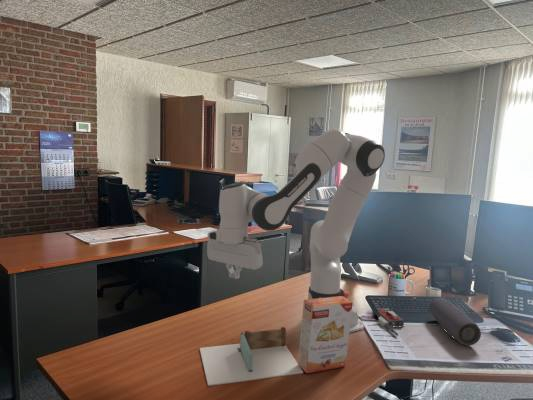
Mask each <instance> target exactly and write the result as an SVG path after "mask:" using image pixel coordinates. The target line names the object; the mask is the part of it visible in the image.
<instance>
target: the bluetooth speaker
mask: <svg viewBox="0 0 533 400" xmlns="http://www.w3.org/2000/svg"><path fill="white" fill-rule="evenodd" d="M428 306H429V307H428V311H429V313H430V314H431V316H432V317H433V318H434V319H435V320H436V322H437V323H438V324H439V325H440V327H441V328H444V329H445V330H446V331H447V332H448V333H449V334H450V335H451V336H453V337H454V338H455V339H456V341H457V342H459V343H460V344H462V345H463V346H473V345H475V344H477V343H478V342H479V341H480V339H481V337H482V331H481V328H480V327H479V325H477V323H476V322H475V321H474V320H473V319H472V318H471V317H469V316H468V314H466V313H465V312H464V311H463V310H462V309H460V308H459V307H458V306H456V305H455V304H454V303H452V301H450V300H449V299H446V298H444V297H439V296H438V297H436V298H434V299H432V300H431V302H430V303H429V305H428ZM444 329H443V330H444ZM445 330H444V331H445ZM446 331H445V332H446ZM447 332H446V333H447ZM448 333H447V334H448ZM449 334H448V335H449ZM450 335H449V336H450ZM451 336H450V337H451ZM455 339H454V340H455Z"/></svg>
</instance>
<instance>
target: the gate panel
mask: <svg viewBox="0 0 533 400" xmlns="http://www.w3.org/2000/svg"><path fill="white" fill-rule="evenodd" d="M244 334H245V331H240V339H239V340H240V343H239V344H240V350H241V352H242V355H243V357H244V360H245V363H246V365H247V368H248V371H249V370H252V352H251V350H250V347H249V345H248V343H247V340H246V338H245V336H244Z"/></svg>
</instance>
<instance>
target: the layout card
mask: <svg viewBox="0 0 533 400" xmlns="http://www.w3.org/2000/svg"><path fill="white" fill-rule="evenodd" d="M199 352H200V357H201V362H202V366H203V370H204V375H205V379H206V383H207V387H211V386H218V385H226V384H232V383H234V384H235V383H240V382H241V383H242V382H248V381H255V380H263V379H269V378H270V379H271V378H278V377H285V376H292V375H300V374H304V370H303V369H302V368H301V367H300V366H299V364H298V361H296V359H295V357H294V355H293V354H292V352H291V351H290V350H289V348H288V346H287V345H286V344H285V346H279V347H270V348H261V349H252V350H251V352H252V370H249V371H248V368H247V365H246V363H245V360H244V357H243V355H242V352H241V350H240V343H233V344H225V345H224V344H223V345H216V346H215V345H214V346H206V347H199Z"/></svg>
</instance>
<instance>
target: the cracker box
mask: <svg viewBox="0 0 533 400" xmlns="http://www.w3.org/2000/svg"><path fill="white" fill-rule="evenodd" d="M352 306H353V302H352V301H351V300H349V299H348V298H345V297H344V296H337V297H327V298H316V299H308V298H307V299H304V300H303V306H302V316H301V318H302V319H301V327H300V338H299V350H298V360H297V363H298V365H299V366H300V368H301V369H302V371H303V372H304V373H306V375H307V374H311V373H315V372H316V373H317V372H321V371H327V370H332V369H338V368H343V367H346V363H347V354H348V345H349V338H350V336H349V335H350V333H349V330H350V322H351V313H352Z"/></svg>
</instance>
